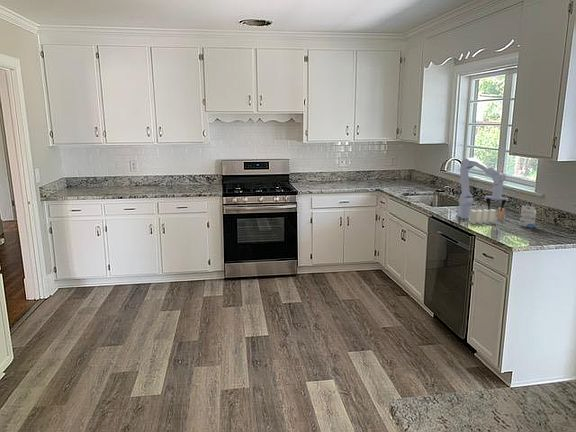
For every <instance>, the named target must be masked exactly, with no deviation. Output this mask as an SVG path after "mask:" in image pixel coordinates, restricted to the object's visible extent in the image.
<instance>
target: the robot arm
mask: <svg viewBox="0 0 576 432" xmlns="http://www.w3.org/2000/svg"><path fill="white" fill-rule="evenodd" d="M474 167H476V168H478V169H479V170H481V171H483V172H484V174H485V175H486V176H487V177H490V178H491V179H492V181H493V186H492V195H485V196H484V199H485V201H486V203H487V210H489V211H490V209H491V201H492V200H493V201H494V200H496V201H501V205H500V207H501V210H500V211H502V208H504V206H505V204H506V202H508V201H509V197H505V196H504V197H503V196H502V195H503V187H504V181H505V180H506V178H507V177H506V175H505V174H504V173H503V172H500V171H499V170H496V169H495V168H494V167H492V166H489V167H488V166H487V165H485V164H484V163H482V162H481V161H480V160H479V159H477V158H475V157H469V158H468V157H467V158H466V157H465V158H463V159H462V160H461V161H460V168H459V175H460V188H461V189H460V190H461V194H459V198H458V204H459V205H458V206H457V211H456V215H455V217H458V218H460V219H463V220H464V219H470V212H471V210H472V206H473V204H474V202H475V199H474V197H473V194H472V193H471V189H470V178H469V171H470V170H471V169H472V168H474Z"/></svg>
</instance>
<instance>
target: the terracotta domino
mask: <svg viewBox="0 0 576 432" xmlns="http://www.w3.org/2000/svg"><path fill="white" fill-rule="evenodd" d="M500 210H501V206H500V207H498V209H497V214H496V219H497V220H499V221H505V220H504V219H505V218H504V217H505V214H506V213H505V212H506V209H505V208H504V207H503V208H502V211H500Z"/></svg>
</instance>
